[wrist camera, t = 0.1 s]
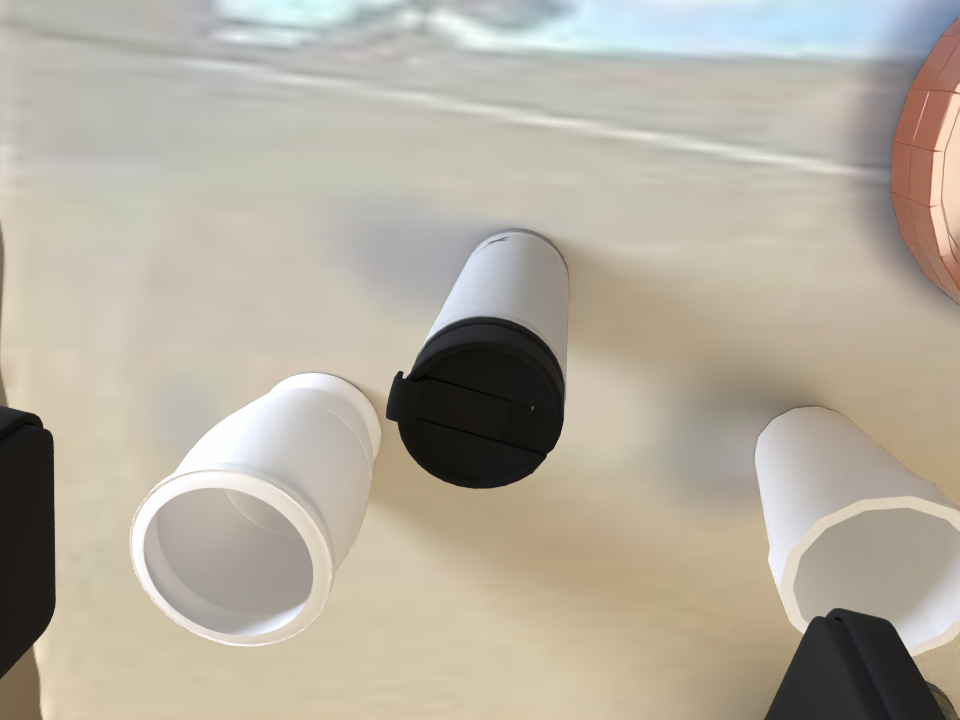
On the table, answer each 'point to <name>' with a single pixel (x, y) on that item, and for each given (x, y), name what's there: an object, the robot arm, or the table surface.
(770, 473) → the foam cup
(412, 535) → the table surface
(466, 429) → the travel mug
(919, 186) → the terracotta plant saucer
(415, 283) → the table surface
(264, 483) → the jar
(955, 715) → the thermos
